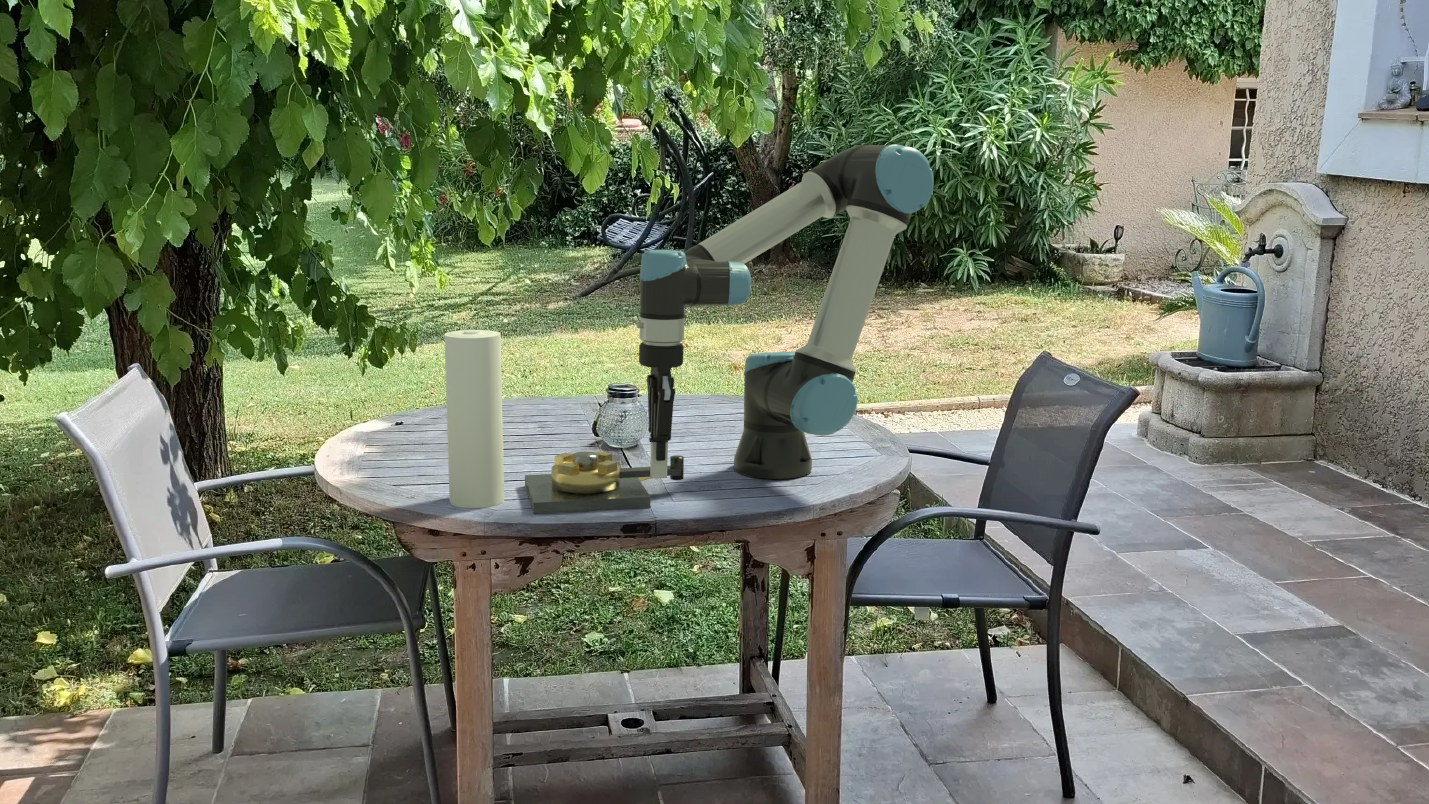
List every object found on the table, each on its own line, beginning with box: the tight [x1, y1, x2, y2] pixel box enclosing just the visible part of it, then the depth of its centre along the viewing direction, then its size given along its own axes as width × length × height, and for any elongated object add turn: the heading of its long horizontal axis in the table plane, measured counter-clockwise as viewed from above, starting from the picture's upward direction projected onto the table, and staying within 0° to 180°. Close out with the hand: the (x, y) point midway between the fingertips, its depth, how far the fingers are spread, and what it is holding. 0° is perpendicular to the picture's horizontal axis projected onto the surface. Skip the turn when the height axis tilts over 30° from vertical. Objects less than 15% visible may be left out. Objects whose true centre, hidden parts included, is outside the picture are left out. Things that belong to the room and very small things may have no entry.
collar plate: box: [524, 473, 652, 515], centre depth 219 cm, size 24×21×2 cm
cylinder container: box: [444, 329, 505, 509], centre depth 211 cm, size 9×9×30 cm
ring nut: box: [551, 450, 685, 493], centre depth 218 cm, size 24×12×5 cm, turn 103°
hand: (658, 477), depth 212 cm, fingers closed
